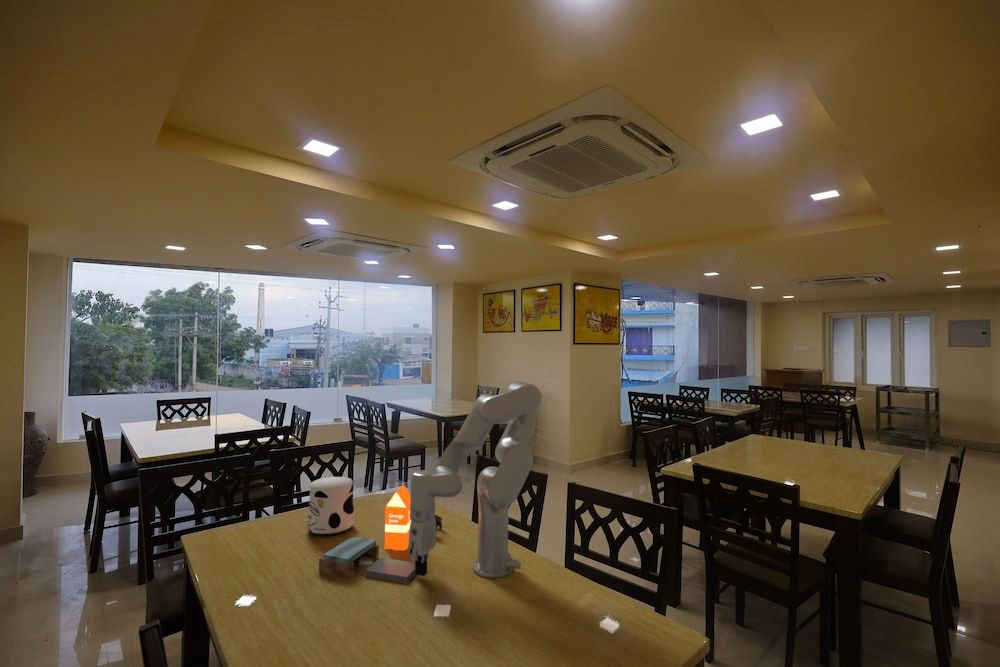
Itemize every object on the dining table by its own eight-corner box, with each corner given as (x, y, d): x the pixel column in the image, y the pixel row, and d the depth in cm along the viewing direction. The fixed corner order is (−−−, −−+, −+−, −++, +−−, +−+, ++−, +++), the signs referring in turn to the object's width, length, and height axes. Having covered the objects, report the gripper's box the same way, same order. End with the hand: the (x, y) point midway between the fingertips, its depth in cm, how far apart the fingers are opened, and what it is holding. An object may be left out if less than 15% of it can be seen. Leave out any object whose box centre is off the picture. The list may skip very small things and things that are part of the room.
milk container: (295, 535, 174) (297, 486, 174) (326, 519, 191) (327, 474, 191) (336, 541, 169) (337, 491, 169) (363, 524, 185) (364, 478, 186)
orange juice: (413, 540, 171) (414, 484, 172) (406, 550, 162) (407, 491, 163) (392, 539, 172) (393, 483, 173) (384, 549, 163) (385, 490, 164)
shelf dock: (378, 557, 157) (378, 540, 157) (350, 578, 142) (351, 559, 142) (348, 552, 160) (349, 535, 160) (318, 572, 146) (319, 553, 146)
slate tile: (420, 571, 149) (420, 563, 149) (406, 585, 140) (406, 577, 140) (380, 565, 153) (380, 557, 153) (365, 578, 144) (365, 570, 144)
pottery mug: (410, 533, 179) (417, 510, 183) (431, 540, 183) (438, 518, 187) (423, 535, 170) (431, 511, 173) (445, 542, 173) (452, 519, 177)
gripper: (422, 523, 135) (420, 588, 135) (444, 506, 150) (442, 565, 149) (398, 519, 138) (397, 583, 137) (422, 503, 152) (421, 561, 151)
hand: (421, 574), depth 143 cm, fingers closed
